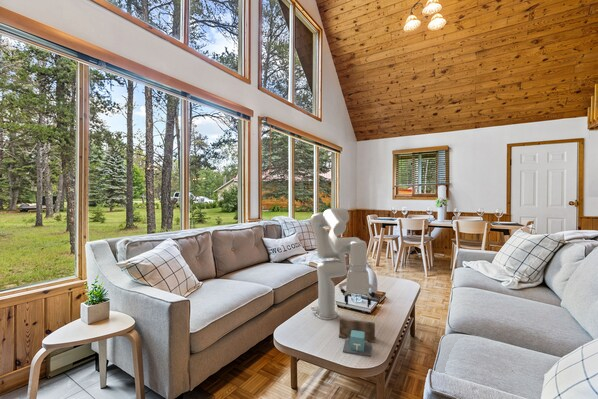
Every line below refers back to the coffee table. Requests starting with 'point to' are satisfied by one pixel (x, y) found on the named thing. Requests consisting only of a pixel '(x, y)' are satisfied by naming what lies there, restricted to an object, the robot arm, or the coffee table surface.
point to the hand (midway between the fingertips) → (357, 304)
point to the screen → (357, 328)
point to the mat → (366, 351)
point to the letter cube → (357, 340)
